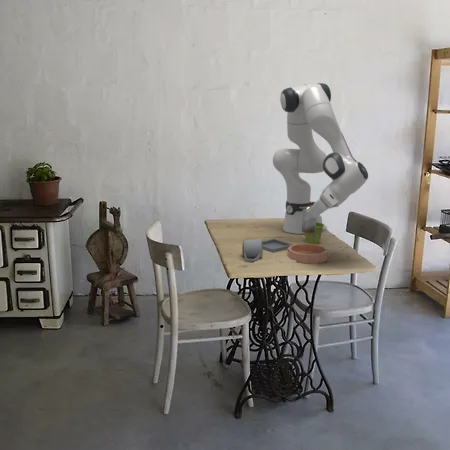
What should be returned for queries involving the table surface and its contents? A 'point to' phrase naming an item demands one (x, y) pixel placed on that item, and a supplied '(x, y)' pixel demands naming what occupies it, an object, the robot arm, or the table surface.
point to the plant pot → (314, 234)
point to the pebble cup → (308, 222)
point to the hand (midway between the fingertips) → (307, 218)
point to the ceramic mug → (252, 249)
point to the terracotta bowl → (308, 253)
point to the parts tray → (275, 245)
